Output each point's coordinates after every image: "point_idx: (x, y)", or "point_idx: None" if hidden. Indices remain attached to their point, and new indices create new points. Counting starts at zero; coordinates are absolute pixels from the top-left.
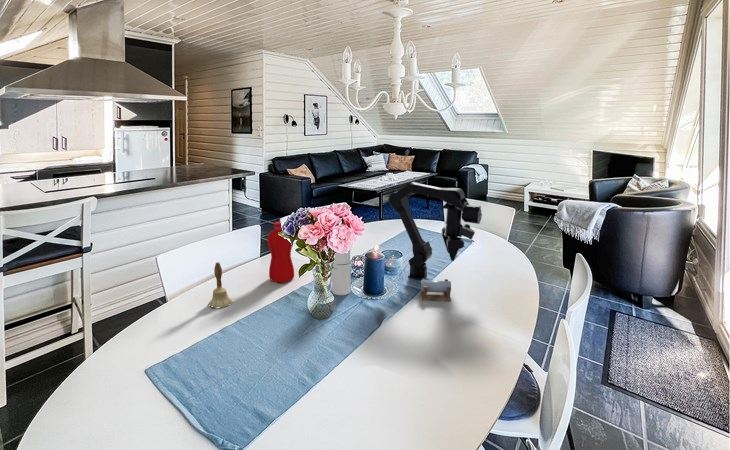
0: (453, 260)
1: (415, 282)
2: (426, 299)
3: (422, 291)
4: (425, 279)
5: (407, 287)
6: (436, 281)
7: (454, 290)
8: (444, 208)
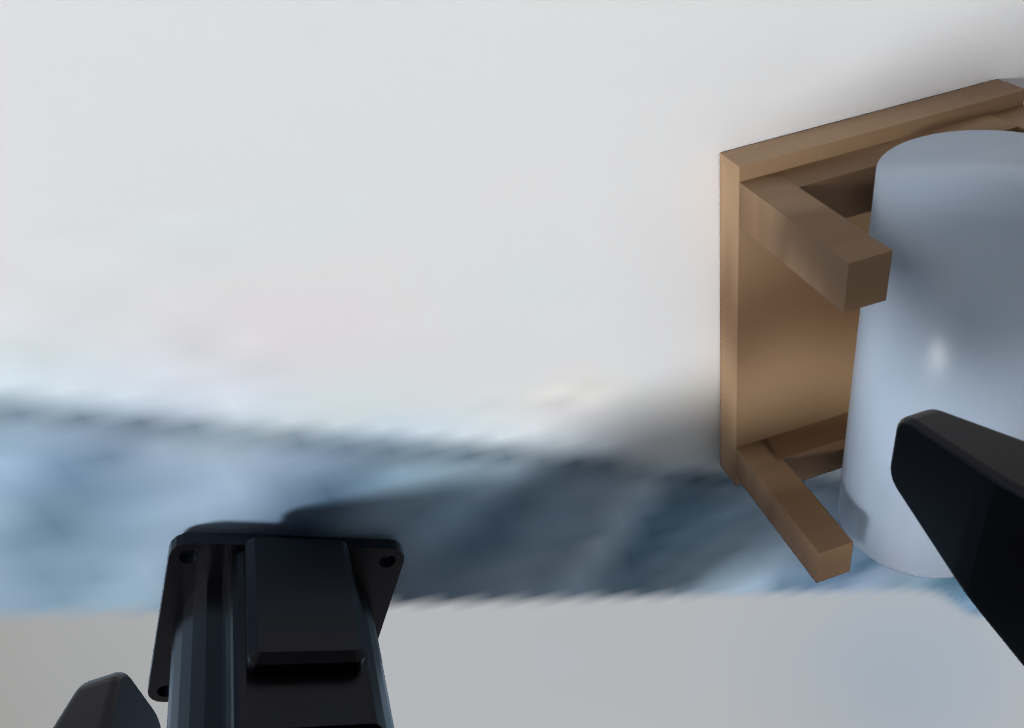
0: (940, 425)
1: (484, 572)
2: None
3: None
4: (848, 543)
5: (642, 591)
6: (1018, 414)
7: (641, 47)
8: None
